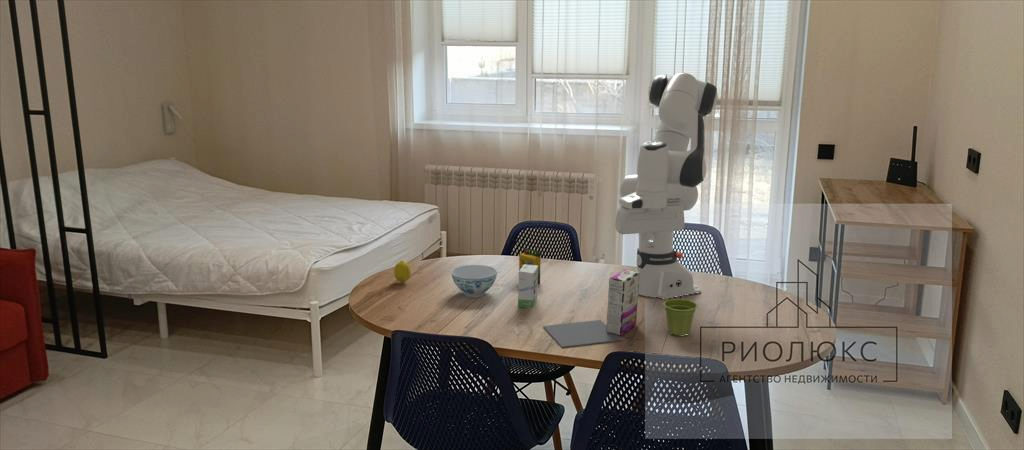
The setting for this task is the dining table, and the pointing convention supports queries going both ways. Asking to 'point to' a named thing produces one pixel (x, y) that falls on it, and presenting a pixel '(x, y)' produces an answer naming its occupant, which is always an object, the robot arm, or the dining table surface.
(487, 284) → the chinaware
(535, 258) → the crayon box
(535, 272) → the ink box
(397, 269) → the lemon
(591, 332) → the mat
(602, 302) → the dining table surface
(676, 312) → the plant pot
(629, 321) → the candy bar box
